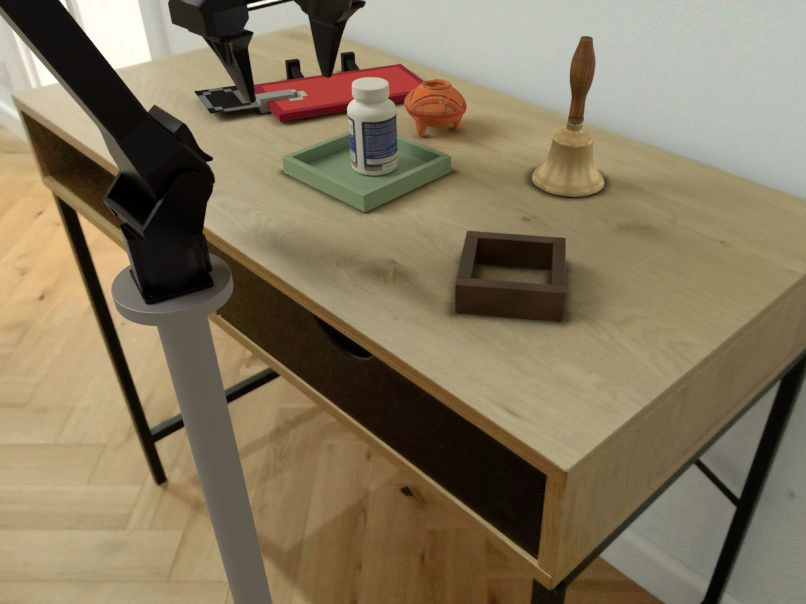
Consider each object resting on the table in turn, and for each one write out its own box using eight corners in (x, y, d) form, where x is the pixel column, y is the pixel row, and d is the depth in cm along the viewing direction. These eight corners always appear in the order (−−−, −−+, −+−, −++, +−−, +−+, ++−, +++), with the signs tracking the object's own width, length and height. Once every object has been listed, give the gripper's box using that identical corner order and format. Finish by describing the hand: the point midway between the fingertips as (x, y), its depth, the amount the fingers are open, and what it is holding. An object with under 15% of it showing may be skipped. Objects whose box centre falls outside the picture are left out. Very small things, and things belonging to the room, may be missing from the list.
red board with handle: (191, 93, 107) (222, 134, 97) (187, 72, 105) (218, 112, 95) (390, 65, 119) (435, 99, 109) (389, 46, 117) (435, 79, 108)
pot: (389, 122, 101) (398, 68, 97) (442, 126, 105) (453, 75, 101) (415, 143, 95) (426, 87, 92) (470, 147, 99) (482, 93, 96)
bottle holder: (454, 313, 69) (455, 284, 67) (466, 257, 76) (466, 230, 74) (562, 321, 68) (565, 293, 66) (562, 264, 75) (566, 237, 73)
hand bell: (585, 161, 94) (603, 23, 84) (616, 192, 87) (639, 46, 77) (521, 169, 91) (531, 28, 82) (548, 202, 85) (562, 53, 75)
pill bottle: (406, 163, 91) (404, 80, 85) (382, 181, 87) (378, 95, 81) (367, 153, 93) (362, 71, 87) (342, 170, 89) (335, 86, 83)
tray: (364, 212, 82) (363, 195, 81) (283, 173, 89) (281, 156, 88) (451, 171, 91) (451, 155, 89) (370, 138, 97) (370, 123, 96)
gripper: (230, -67, 55) (262, 142, 65) (415, -98, 66) (418, 85, 76) (145, -89, 61) (186, 107, 70) (328, -114, 72) (342, 58, 82)
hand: (289, 89), depth 74 cm, fingers open, 9 cm apart
